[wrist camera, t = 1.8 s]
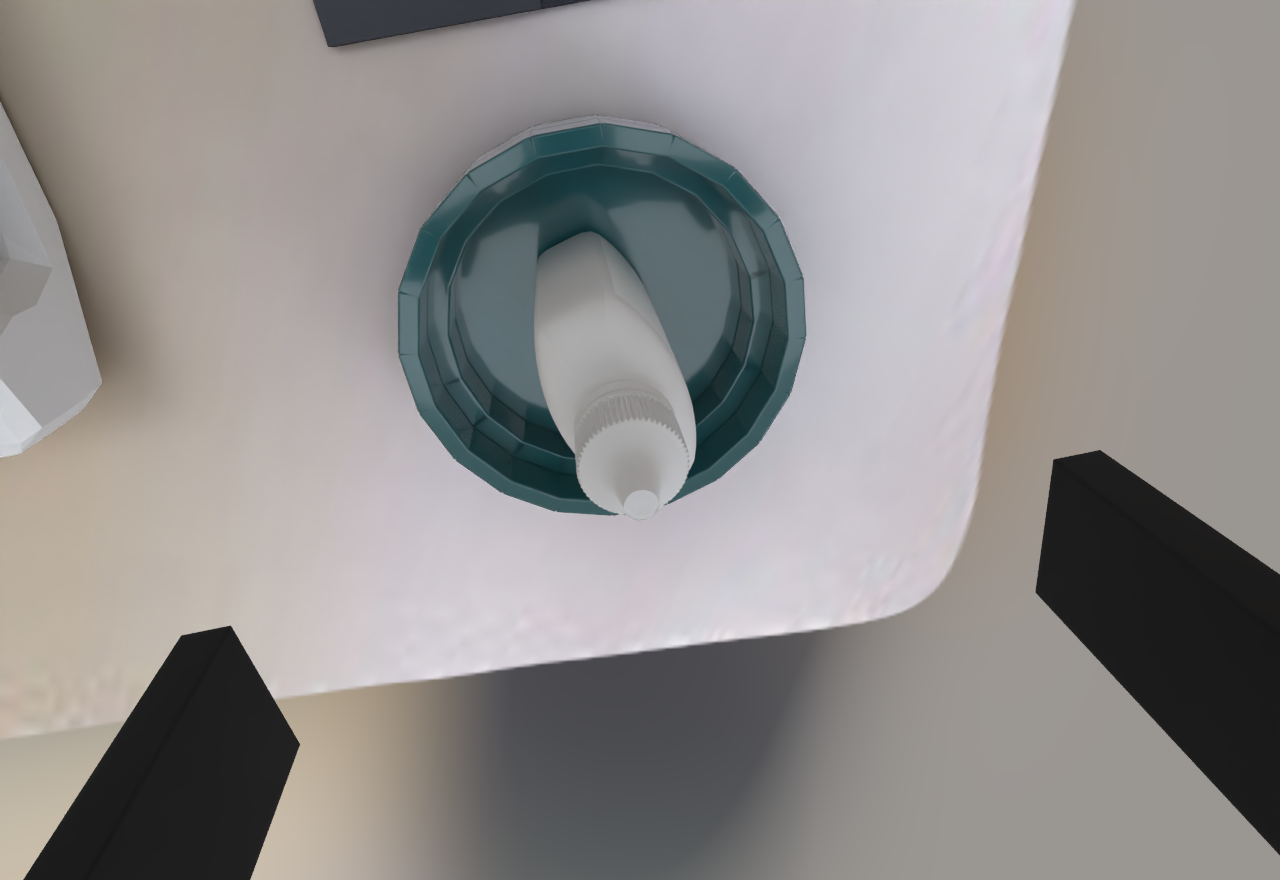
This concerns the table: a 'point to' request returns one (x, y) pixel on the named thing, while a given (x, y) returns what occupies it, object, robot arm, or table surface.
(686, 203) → the bowl
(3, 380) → the document scanner
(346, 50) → the table surface
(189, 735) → the robot arm
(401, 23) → the napkin
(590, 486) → the eye dropper bottle
